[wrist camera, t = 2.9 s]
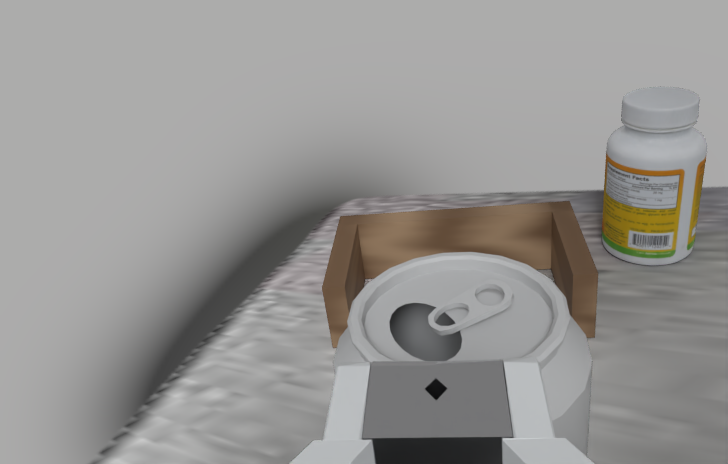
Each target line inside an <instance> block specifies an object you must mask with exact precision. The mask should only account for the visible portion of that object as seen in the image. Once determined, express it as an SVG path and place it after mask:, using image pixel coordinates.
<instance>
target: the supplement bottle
mask: <svg viewBox="0 0 728 464" xmlns="http://www.w3.org/2000/svg"><path fill="white" fill-rule="evenodd" d="M699 101H700V99H699V96H698V95H697V94H696V93H694V92H692V91H690V90H686V89H681V88H675V87H649V88H643V89H638V90H634V91H632V92H629V93H627V94H626V95H625V96H624V97H623V102H622V114H621V117H622V118H621V121H622V123H623V124H624V126H622V127H620V128H619V129H617V130H616V131H614V132H613V133H612V134H611V136H610V138H609V139H608V143H607V151H606V169H605V185H604V203H603V221H602V242H603V245H604V247H605V248H606V250H607V251H608V252H610V253H611V254H612V255H614V256H615V257H617V258H619V259H622V260H624V261H627V262H631V263H635V264H641V265H652V266H655V265H667V264H671V263H675V262H678V261H680V260H682V259H684V258H685V257H687V256H688V255H689V254H690V252H691V251H692V249H693V246H694V241H695V234H696V226H697V219H698V211H699V204H700V197H701V190H702V182H703V175H704V168H705V162H706V150H707V143H706V140H705V138H704V136H703V135H702V134H701V133H700V132H699V131H698V130H696V129H694V128H693V127H692V126H694V125H695V124H696V122H697V118H698V111H699Z"/></svg>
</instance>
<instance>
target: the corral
mask: <svg viewBox="0 0 728 464" xmlns="http://www.w3.org/2000/svg"><path fill="white" fill-rule="evenodd" d="M453 252H477V253H484V254H492V255H499V256H503V257H506V258H509V259H512V260H515V261H518V262H521V263H524V264H527V265H529V266H531V267H532V268H534V269H535V270H540V269H551V271H552V274H553V277H554V281H555V284H556V286H557V287H558V288H559V290H560V291H561V292H562V293H563V294H564V296H565V297H566V300H567V305H568V310H569V314H570V315H571V317H572V318H573V319H574V321H575V322H576V323H577V324H578V326H579V327H580V328H581V329H582V331H583V332H584V333H585V334H586V337H587V338H594V337H595V322H596V304H597V287H598V272H597V269H596V267H595V264H594V262H593V259H592V257H591V254H590V252H589V249H588V247H587V244H586V242H585V239H584V237H583V234H582V232H581V229H580V227H579V224H578V221H577V219H576V216H575V214H574V211H573V209H572V206H571V204H570V201H563V202H548V203H533V204H518V205H503V206H488V207H473V208H458V209H443V210H428V211H413V212H398V213H383V214H368V215H353V216H340V220H339V224H338V228H337V231H336V235H335V239H334V243H333V247H332V251H331V255H330V259H329V263H328V267H327V271H326V274H325V278H324V282H323V286H322V291H323V296H324V301H325V307H326V312H327V318H328V323H329V329H330V334H331V340H332V345H333V348H337V345H338V341H339V338H340V336H341V335H342V334H343V333H344V331H345V330H346V329H347V327H348V324H347V320H348V317H349V313H350V309H351V305H352V302H353V300H354V299H355V298H356V297H357V295H358V294H359V293H360V292H361V290H362V289H363V288H364V283H365V279H371V278H376V277H377V276H379V275H380V274H382V273H383V272H385V271H386V270H388V269H389V268H391V267H394V266H397V265H399V264H402V263H404V262H407V261H409V260H412V259H414V258H419V257H424V256H429V255H434V254H439V253H453Z"/></svg>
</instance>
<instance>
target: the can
mask: <svg viewBox="0 0 728 464" xmlns="http://www.w3.org/2000/svg"><path fill="white" fill-rule="evenodd" d="M347 324H348V327H347V329H346V330H345V331H344V333H343V334H342V335H341V336H340V338H339V341H338V345H337V349H336V353H335V356H334V360H333V366H334V371H335V373H336V368H337V367H338V365H339V363H340V362H373V361H465V360H498V359H501V360H502V359H503V358H525V357H536V358H537V360H538V361H539V364H540V369H541V373H542V378H543V383H544V387H545V392H546V396H547V401H548V405H549V410H550V415H551V419H552V424H553V428H554V433H555V437H556V438H567V439H568V440H569V441H570V442H571V443H572V444H573V445H575V446H576V447H577V448H578V449H579V450H580V451H581V452H582V453H584V454H585V455H586V456H587V448H588V430H589V413H590V395H591V378H592V358H591V354H590V350H589V345H588V341H587V337H586V334H585V333H584V332H583V331H582V329H581V328H580V327H579V326H578V324H577V323H576V322H575V321H574V319H573V318H572V317H571V315H570V314H569V310H568V305H567V300H566V297H565V296H564V294H563V293H562V292H561V291H560V290H559V288H558V287H557V286H556V285H555V283H554V282H553V281H552V280H551V279H550V278H548V277H547V276H545V275H543V274H542V273H540V272H539V271H537V270H535V269H534V268H532V267H531V266H529V265H527V264H524V263H521V262H518V261H515V260H512V259H509V258H506V257H503V256H499V255H492V254H484V253H477V252H453V253H439V254H434V255H429V256H424V257H419V258H414V259H412V260H409V261H407V262H404V263H402V264H399V265H397V266H394V267H391V268H389V269H388V270H386V271H385V272H383V273H382V274H380V275H379V276H377V277H376V278H374V279H373V280H371V281H370V282H369V283H367V284H366V285H365V286H364V288H363V289H362V290H361V292H360V293H359V294H358V295H357V297H356V298H355V299H354V300H353V302H352V305H351V309H350V313H349V317H348V320H347Z"/></svg>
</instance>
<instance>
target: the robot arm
mask: <svg viewBox="0 0 728 464" xmlns="http://www.w3.org/2000/svg"><path fill="white" fill-rule="evenodd" d="M289 464H595V463H594V462H593V461H591V460H590V459H589V458H588V457H587V456H586V455H585V454H584V453H582V452H581V451H580V450H579V449H578V448H577V447H576V446H575V445H573V444H572V443H571V442H570V441H569V440H568V439H567V438H556V437H555V433H554V428H553V424H552V419H551V415H550V410H549V405H548V401H547V396H546V392H545V387H544V383H543V378H542V373H541V369H540V364H539V361H538V360H537V358H536V357H525V358H503V359H502V360H501V359H498V360H465V361H373V362H340V363H339V365H338V367H337V368H336V373H335V378H334V383H333V389H332V394H331V399H330V404H329V409H328V415H327V420H326V425H325V430H324V435H323V440H313V441H312V442H311V443H310V444H309V445H308V446H307V447H305V448H304V449H303V450H302V451H301V452H300V453H299V454H298V455H297V456H296V457H295V458H294V459H293V460H292V461H291V462H290V463H289Z"/></svg>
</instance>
